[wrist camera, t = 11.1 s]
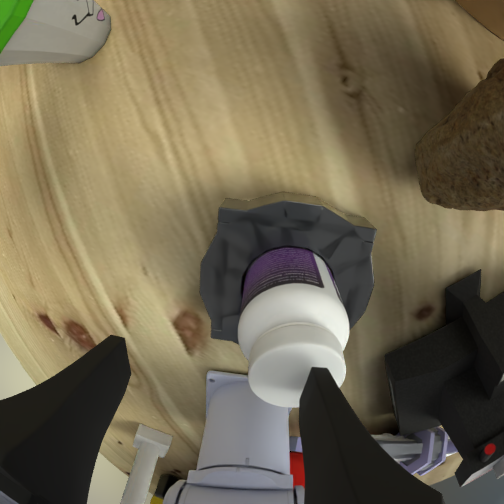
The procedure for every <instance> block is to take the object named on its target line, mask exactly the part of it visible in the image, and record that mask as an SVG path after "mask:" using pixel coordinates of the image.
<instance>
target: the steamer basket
mask: <svg viewBox="0 0 504 504" xmlns="http://www.w3.org/2000/svg"><path fill="white" fill-rule="evenodd" d="M455 1H456V2H457V3H458V4H460V5H461V6H462V7H463V8H464V9H465V10H466V11H467V12H469V13H470V14H471V15H472V16H473V17H474V18H475V19H477V20H478V21H479V22H480V23H481V24H483V25H484V26H485V27H486V28H487V29H489V30H490V31H491V32H492V33H494V34H495V35H496V36H498V37H499V38H501V39H502V40H504V0H455Z"/></svg>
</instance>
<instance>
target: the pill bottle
mask: <svg viewBox="0 0 504 504" xmlns="http://www.w3.org/2000/svg"><path fill="white" fill-rule="evenodd" d="M348 337H349V320H348V316H347V313H346V310H345V307H344V305H343V302H342V300H341V297H340V294H339V292H338V289H337V287H336V284H335V282H334V279H333V277H332V274H331V272H330V269H329V267H328V265H327V263H326V261H325V260H324V258H323V257H322V256H320V255H318V254H317V253H315V252H313V251H311V250H310V249H308V248H305V247H297V246H289V245H286V246H281V247H277V248H273V249H269V250H266V251H265V252H264V253H262V254H261V255H259V256H258V257H257V258H255V259H254V260H252V261H251V263H250V265H249V266H248V268H247V270H246V277H245V284H244V291H243V298H242V305H241V311H240V317H239V324H238V341H239V345H240V348H241V350H242V352H243V354H244V356H245V357H246V359H247V360H248V361H249V367H248V382H249V385H250V388H251V390H252V391H253V392H254V393H255V394H256V395H257V396H258V397H259V398H260V399H262V400H263V401H265V402H267V403H270V404H272V405H276V406H280V407H291V408H295V407H299V399H300V397H301V394H302V391H303V389H304V386H305V384H306V381H307V378H308V375H309V373H310V370H311V367H324V368H328V370H329V371H330V373H331V375H332V376H333V378H334V380H335V382H336V384H337V385H338V387H339V388H340V386H341V385H342V383H343V381H344V379H345V375H346V365H345V360H344V356H343V350H344V348H345V346H346V344H347V341H348Z"/></svg>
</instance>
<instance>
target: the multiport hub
mask: <svg viewBox="0 0 504 504" xmlns="http://www.w3.org/2000/svg"><path fill="white" fill-rule="evenodd" d="M179 480H180V479H178V478H176V477H174V476H172V475H161V477H160V480H159V482H158V485H157V488H156V491H155V493H154V495H155V496H156V497H158V498H160V499H163V500H164V497H165V495H166V493H167V491H168V489H169V488H170V487H171V486H172V485H174V484H175V483H176V482H177V481H179Z"/></svg>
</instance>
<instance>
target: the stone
mask: <svg viewBox="0 0 504 504" xmlns="http://www.w3.org/2000/svg"><path fill="white" fill-rule="evenodd" d="M415 161H416V166H417V172H418V177H419V185H420V189H421V192H422V195H423V197H424V198H425V199H426V200H427V201H428V202H430V203H432V204H437V205H440V206H442V207H444V208H450V209H451V208H454V209H458V210H476V211H487V210H494V209H497V210H504V58H503V59H500V60H499V61H498V62H497V63H495V64H494V65H493V67H492V68H491V70H490V71H489V72H488V75H487V78H486V79H485V80H482V81H480V82H479V83H478V85H477V86H476V87H475V88H474V89H472V90H471V91H469V92H468V93H466V94H465V97H464V98H463V100H462V101H461V102H459V103H458V104H456V106H455V108H454V109H453V110H452V112H451V113H450V114H449V115H448V116H447V117H445V118H444V119H443V120H442V121H440V122H439V123H438V124H437V125H435V126H434V127H433V128H432V129H431V130H429V131H428V132H427V133H426V134H425V135H424V137H423V138H422V140H421V141H420V142H418V143H417V144H416V149H415Z"/></svg>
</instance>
